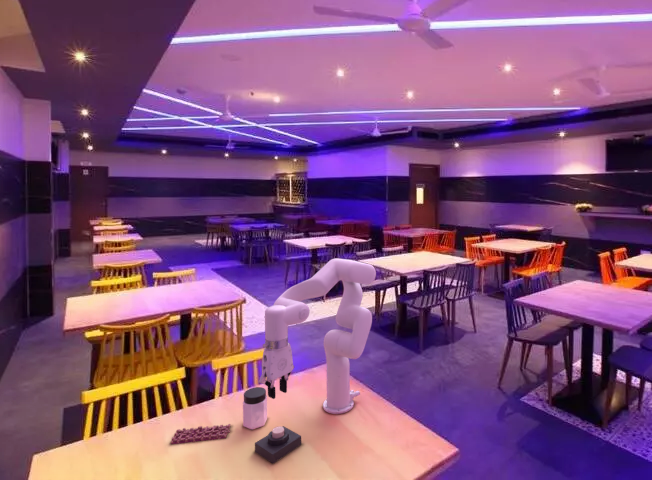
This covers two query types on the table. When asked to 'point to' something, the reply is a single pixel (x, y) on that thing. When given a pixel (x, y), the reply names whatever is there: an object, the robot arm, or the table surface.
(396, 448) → the table surface
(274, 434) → the pink short cylinder
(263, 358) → the robot arm
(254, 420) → the jar
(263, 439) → the black push button
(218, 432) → the chocolate bar
